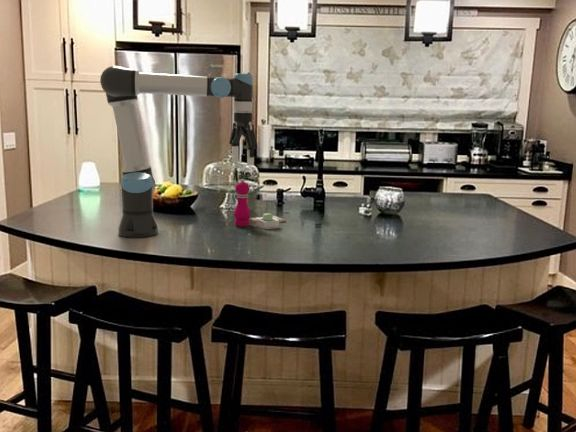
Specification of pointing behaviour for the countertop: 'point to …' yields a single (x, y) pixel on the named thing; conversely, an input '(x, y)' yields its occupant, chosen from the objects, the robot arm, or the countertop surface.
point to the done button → (267, 217)
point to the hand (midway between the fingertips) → (242, 163)
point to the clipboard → (272, 217)
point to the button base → (267, 223)
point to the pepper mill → (242, 204)
